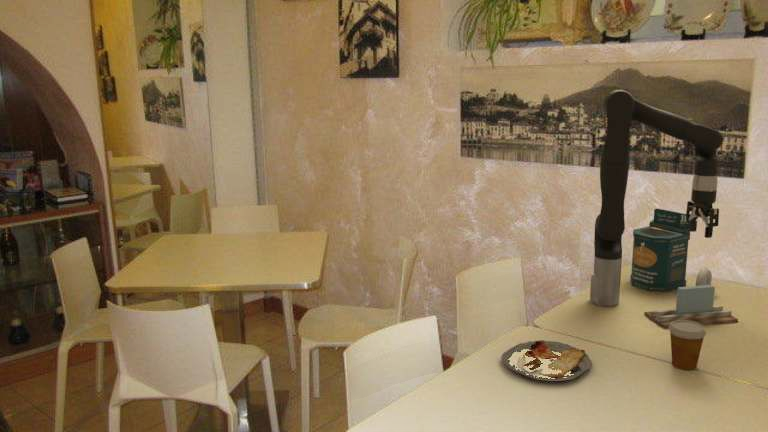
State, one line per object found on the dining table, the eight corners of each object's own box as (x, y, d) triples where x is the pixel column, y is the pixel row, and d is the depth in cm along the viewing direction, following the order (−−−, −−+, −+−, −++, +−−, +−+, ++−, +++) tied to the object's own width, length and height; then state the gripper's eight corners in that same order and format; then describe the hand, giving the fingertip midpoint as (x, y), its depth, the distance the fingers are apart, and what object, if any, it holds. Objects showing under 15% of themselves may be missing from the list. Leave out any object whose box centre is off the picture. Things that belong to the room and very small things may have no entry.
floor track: (664, 328, 206) (664, 321, 206) (644, 314, 218) (644, 307, 217) (737, 322, 210) (738, 315, 209) (714, 309, 221) (714, 302, 221)
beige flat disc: (703, 299, 231) (705, 272, 228) (693, 297, 233) (695, 271, 231) (711, 291, 238) (714, 266, 236) (701, 289, 240) (704, 264, 238)
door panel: (678, 317, 212) (681, 289, 210) (675, 315, 214) (677, 287, 212) (712, 315, 213) (714, 286, 211) (708, 312, 215) (711, 284, 213)
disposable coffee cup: (700, 360, 184) (704, 321, 181) (705, 375, 175) (708, 334, 172) (664, 356, 187) (667, 317, 184) (667, 370, 178) (670, 330, 175)
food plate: (535, 339, 200) (535, 329, 199) (605, 362, 184) (605, 351, 183) (487, 368, 183) (487, 357, 182) (560, 396, 167) (560, 384, 166)
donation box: (685, 286, 245) (691, 215, 238) (658, 294, 237) (663, 221, 230) (649, 275, 258) (654, 207, 252) (622, 282, 250) (627, 213, 244)
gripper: (681, 184, 221) (678, 230, 225) (707, 192, 208) (703, 240, 211) (701, 183, 222) (697, 228, 226) (728, 191, 208) (723, 239, 212)
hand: (700, 234), depth 219 cm, fingers open, 8 cm apart
